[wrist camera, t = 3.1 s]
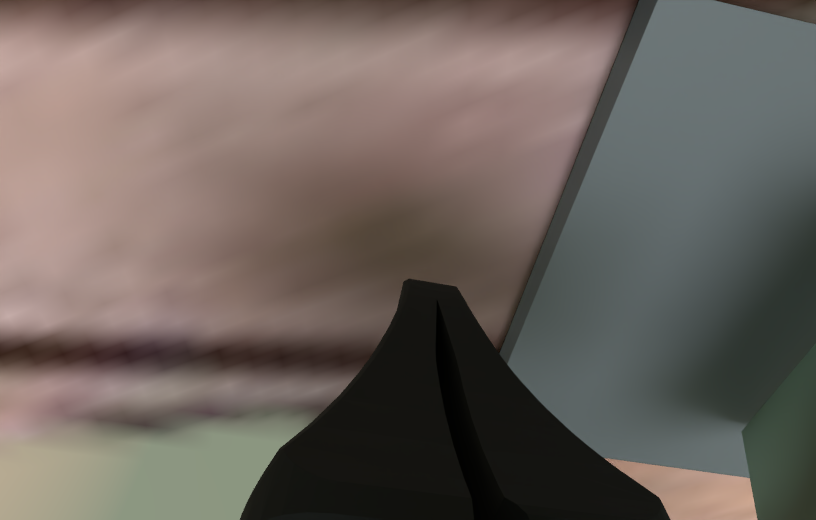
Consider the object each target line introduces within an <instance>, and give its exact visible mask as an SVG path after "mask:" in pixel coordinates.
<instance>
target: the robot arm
mask: <svg viewBox="0 0 816 520" xmlns="http://www.w3.org/2000/svg"><path fill="white" fill-rule="evenodd" d="M240 520H670V518H669V516H668V514H667V512H666V510H665V508H664V506H663V504H662V502H661V500H660V498H659V497H657V496H656V495H655V494H653V493H652V492H650V491H649V490H647V489H646V488H645V487H643V486H642V485H640V484H639V483H637V482H636V481H635V480H633V479H632V478H630V477H629V476H627V475H626V474H624V473H623V472H622V471H620V470H619V469H617V468H616V467H615V466H613V465H612V464H611V463H609V462H608V461H607V460H605V459H604V458H603V457H602V456H600V455H599V454H598V453H597V452H595V451H594V450H593V449H592V448H590V447H589V446H588V445H587V444H585V443H584V442H583V441H582V440H581V439H579V438H578V437H577V436H576V435H575V434H574V433H572V432H571V431H570V430H569V429H568V428H567V427H566V426H565V425H564V424H563V423H561V422H560V421H559V420H558V419H557V418H556V417H555V416H554V415H553V414H552V413H551V412H550V411H549V410H548V409H547V408H546V407H545V406H544V405H543V404H542V403H541V402H540V401H539V400H538V399H537V398H536V397H535V396H534V395H533V394H532V393H531V392H530V390H529V389H528V388H527V387H526V386H525V385H524V384H523V383H522V382H521V381H520V379H519V378H518V377H517V376H516V375H515V374H514V372H513V371H512V370H511V369H510V367H509V366H508V365H507V363H506V362H505V361H504V359H503V358H502V357H501V356H500V354H499V353H498V352H497V350H496V349H495V347H494V346H493V344H492V343H491V341H490V340H489V338H488V337H487V335H486V334H485V332H484V331H483V329H482V328H481V326H480V325H479V323H478V322H477V320H476V318H475V317H474V315H473V313H472V312H471V310H470V308H469V307H468V305H467V303H466V302H465V300H464V298H463V296H462V295H461V293H460V291H459V290H458V288H457V287H455V286H449V285H443V284H437V283H431V282H425V281H419V280H413V279H408V280H406V281H404V282H403V286H402V291H401V295H400V299H399V304H398V308H397V311H396V313H395V315H394V318H393V320H392V322H391V324H390V326H389V328H388V330H387V331H386V333H385V335H384V336H383V338H382V340H381V341H380V343H379V345H378V346H377V348H376V350H375V351H374V353H373V354H372V355H371V357H370V358H369V360H368V361H367V362H366V364H365V365H364V366H363V368H362V369H361V370H360V372H359V373H358V374H357V375H356V377H355V378H354V379H353V380H352V381H351V383H350V384H349V385H348V386H347V387H346V389H345V390H344V391H343V392H342V393H341V394H340V395H339V396H338V397H337V398H336V399H335V400H334V401H333V402H332V403H331V404H330V405H329V406H328V407H327V408H326V409H325V410H324V411H323V412H322V413H321V414H320V415H319V416H318V417H317V418H316V419H315V420H314V421H313V422H311V423H310V424H309V425H308V426H307V427H306V428H304V429H303V430H302V431H301V432H299V433H298V434H297V435H296V436H294V437H293V438H292V439H291V440H290V441H288V442H287V443H286V444H285V445H283V446H282V447H281V448H280V449H279V450H278V452H277V453H276V455H275V456H274V458H273V459H272V461H271V462H270V464H269V465H268V467H267V468H266V470H265V471H264V473H263V475H262V477H261V478H260V480H259V481H258V483H257V485H256V486H255V488H254V490H253V492H252V494H251V495H250V498H249V500H248V502H247V504H246V506H245V508H244V511H243V513H242V515H241V518H240Z"/></svg>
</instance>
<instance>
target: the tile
mask: <svg viewBox="0 0 816 520" xmlns="http://www.w3.org/2000/svg"><path fill="white" fill-rule="evenodd" d="M741 432H742V437H743V443H744V448H745V454H746V459H747V464H748V470H749V475H750V481H751V486H752V492H753V497H754V502H755V508H756V513H757V519H758V520H816V344H815V345H814V346H813V347H812V348H811V349H810V351H809V352H808V353H807V354H806V355H805V357H804V358H803V359H802V360H801V361H800V363H799V364H798V365H797V366H796V367H795V368H794V370H793V371H792V372H791V373H790V374H789V376H788V377H787V378H786V379H785V380H784V382H783V383H782V384H781V385H780V386H779V387H778V389H777V390H776V391H775V392H774V393H773V395H772V396H771V397H770V398H769V399H768V401H767V402H766V403H765V404H764V405H763V406H762V408H761V409H760V410H759V411H758V412H757V414H756V415H755V416H754V417H753V418H752V420H751V421H750V422H749V423H748V424H747V425H746V427H745V428H744V429H743V430H742V431H741Z"/></svg>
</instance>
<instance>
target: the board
mask: <svg viewBox="0 0 816 520" xmlns="http://www.w3.org/2000/svg"><path fill="white" fill-rule="evenodd" d="M815 344H816V24H811V23H807V22H803V21H799V20H795V19H790V18H786V17H782V16H778V15H773V14H769V13H765V12H761V11H757V10H752V9H748V8H744V7H740V6H735V5H731V4H727V3H723V2H719V1H714V0H639V2H638V5H637V7H636V10H635V12H634V15H633V17H632V20H631V22H630V25H629V27H628V30H627V33H626V35H625V38H624V40H623V43H622V45H621V48H620V50H619V53H618V55H617V58H616V60H615V63H614V65H613V68H612V70H611V73H610V75H609V78H608V81H607V83H606V86H605V88H604V91H603V93H602V96H601V98H600V101H599V103H598V106H597V108H596V111H595V113H594V116H593V118H592V121H591V123H590V126H589V129H588V131H587V134H586V136H585V139H584V141H583V144H582V146H581V149H580V151H579V154H578V156H577V159H576V161H575V164H574V166H573V169H572V171H571V174H570V177H569V179H568V182H567V184H566V187H565V189H564V192H563V194H562V197H561V199H560V202H559V204H558V207H557V209H556V212H555V214H554V217H553V219H552V222H551V225H550V227H549V230H548V232H547V235H546V237H545V240H544V242H543V245H542V247H541V250H540V252H539V255H538V257H537V260H536V262H535V265H534V267H533V270H532V273H531V275H530V278H529V280H528V283H527V285H526V288H525V290H524V293H523V295H522V298H521V300H520V303H519V305H518V308H517V310H516V313H515V316H514V318H513V321H512V323H511V326H510V328H509V331H508V333H507V336H506V338H505V341H504V343H503V346H502V348H501V351H500V353H499V354H500V356H501V357H502V358H503V359H504V361H505V362H506V363H507V365H508V366H509V367H510V369H511V370H512V371H513V372H514V374H515V375H516V376H517V377H518V378H519V379H520V381H521V382H522V383H523V384H524V385H525V386H526V387H527V388H528V389H529V390H530V392H531V393H532V394H533V395H534V396H535V397H536V398H537V399H538V400H539V401H540V402H541V403H542V404H543V405H544V406H545V407H546V408H547V409H548V410H549V411H550V412H551V413H552V414H553V415H554V416H555V417H556V418H557V419H558V420H559V421H560V422H561V423H563V424H564V425H565V426H566V427H567V428H568V429H569V430H570V431H571V432H572V433H574V434H575V435H576V436H577V437H578V438H579V439H581V440H582V441H583V442H584V443H585V444H587V445H588V446H589V447H590V448H592V449H593V450H594V451H595V452H597V453H598V454H599V455H600V456H602V457H603V458H609V459H617V460H624V461H631V462H638V463H645V464H653V465H660V466H667V467H674V468H682V469H689V470H696V471H703V472H711V473H718V474H725V475H732V476H739V477H747V478H750V475H749V470H748V464H747V459H746V454H745V448H744V443H743V437H742V432H741V431H742V430H743V429H744V428H745V427H746V425H747V424H748V423H749V422H750V421H751V420H752V418H753V417H754V416H755V415H756V414H757V412H758V411H759V410H760V409H761V408H762V406H763V405H764V404H765V403H766V402H767V401H768V399H769V398H770V397H771V396H772V395H773V393H774V392H775V391H776V390H777V389H778V387H779V386H780V385H781V384H782V383H783V382H784V380H785V379H786V378H787V377H788V376H789V374H790V373H791V372H792V371H793V370H794V368H795V367H796V366H797V365H798V364H799V363H800V361H801V360H802V359H803V358H804V357H805V355H806V354H807V353H808V352H809V351H810V349H811V348H812V347H813V346H814V345H815Z"/></svg>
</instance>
